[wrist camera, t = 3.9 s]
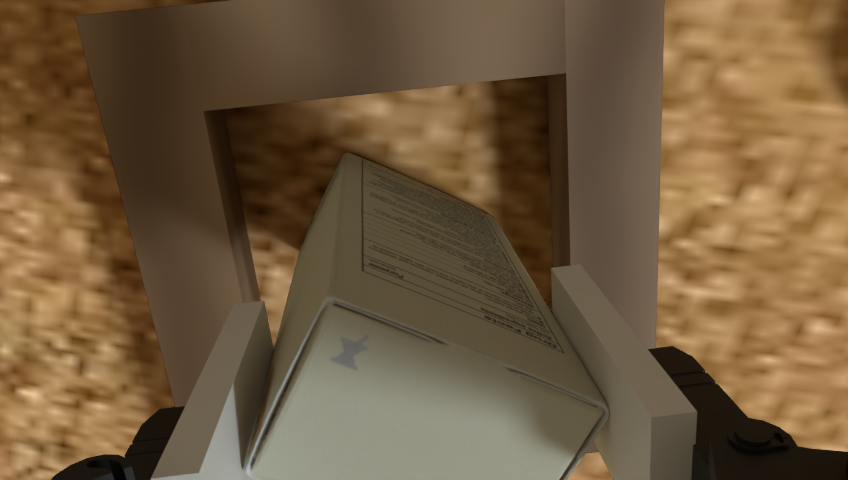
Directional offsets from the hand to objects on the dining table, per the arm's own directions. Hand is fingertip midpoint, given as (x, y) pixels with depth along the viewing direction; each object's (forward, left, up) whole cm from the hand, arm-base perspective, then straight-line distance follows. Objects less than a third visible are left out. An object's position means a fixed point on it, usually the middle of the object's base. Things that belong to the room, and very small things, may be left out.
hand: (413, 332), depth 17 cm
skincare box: (0, 0, -8) cm, 8 cm away
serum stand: (0, 0, -8) cm, 8 cm away
